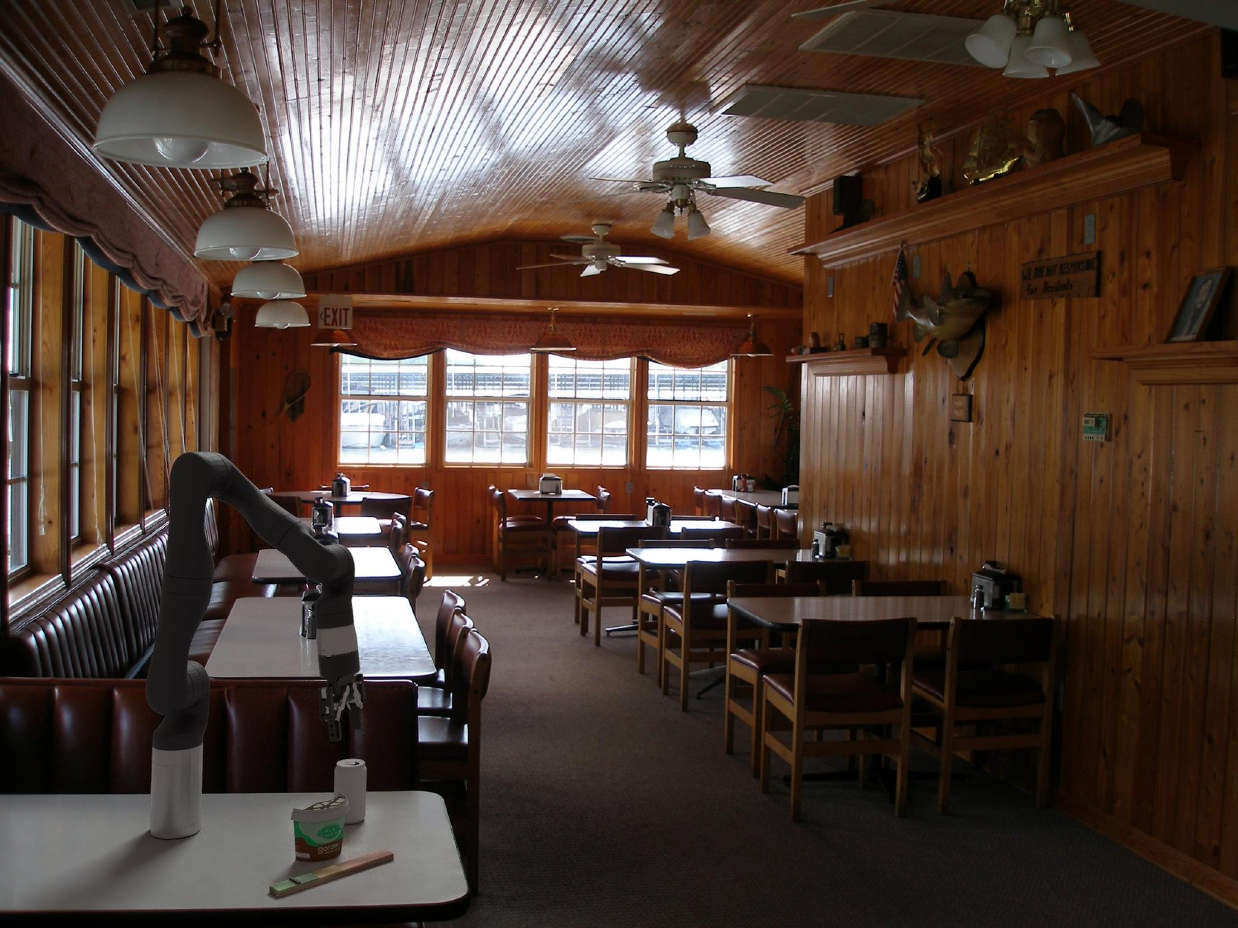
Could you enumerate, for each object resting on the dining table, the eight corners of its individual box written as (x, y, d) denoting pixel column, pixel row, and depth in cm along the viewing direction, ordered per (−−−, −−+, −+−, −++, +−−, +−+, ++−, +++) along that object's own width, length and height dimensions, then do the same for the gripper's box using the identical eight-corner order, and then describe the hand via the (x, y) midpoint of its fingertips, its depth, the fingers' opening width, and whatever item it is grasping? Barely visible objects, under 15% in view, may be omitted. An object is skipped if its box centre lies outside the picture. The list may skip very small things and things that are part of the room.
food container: (312, 870, 194) (314, 815, 194) (289, 862, 197) (290, 808, 197) (362, 849, 204) (363, 797, 204) (339, 842, 208) (340, 791, 207)
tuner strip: (269, 891, 184) (269, 883, 184) (384, 854, 202) (384, 846, 202) (278, 896, 182) (278, 888, 182) (393, 859, 200) (393, 851, 200)
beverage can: (356, 826, 216) (358, 768, 216) (327, 823, 217) (329, 765, 217) (370, 816, 222) (372, 759, 222) (341, 813, 224) (343, 756, 223)
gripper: (337, 644, 211) (345, 726, 210) (300, 658, 197) (309, 745, 196) (372, 641, 209) (381, 724, 209) (338, 655, 195) (347, 743, 195)
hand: (346, 734), depth 203 cm, fingers open, 8 cm apart
